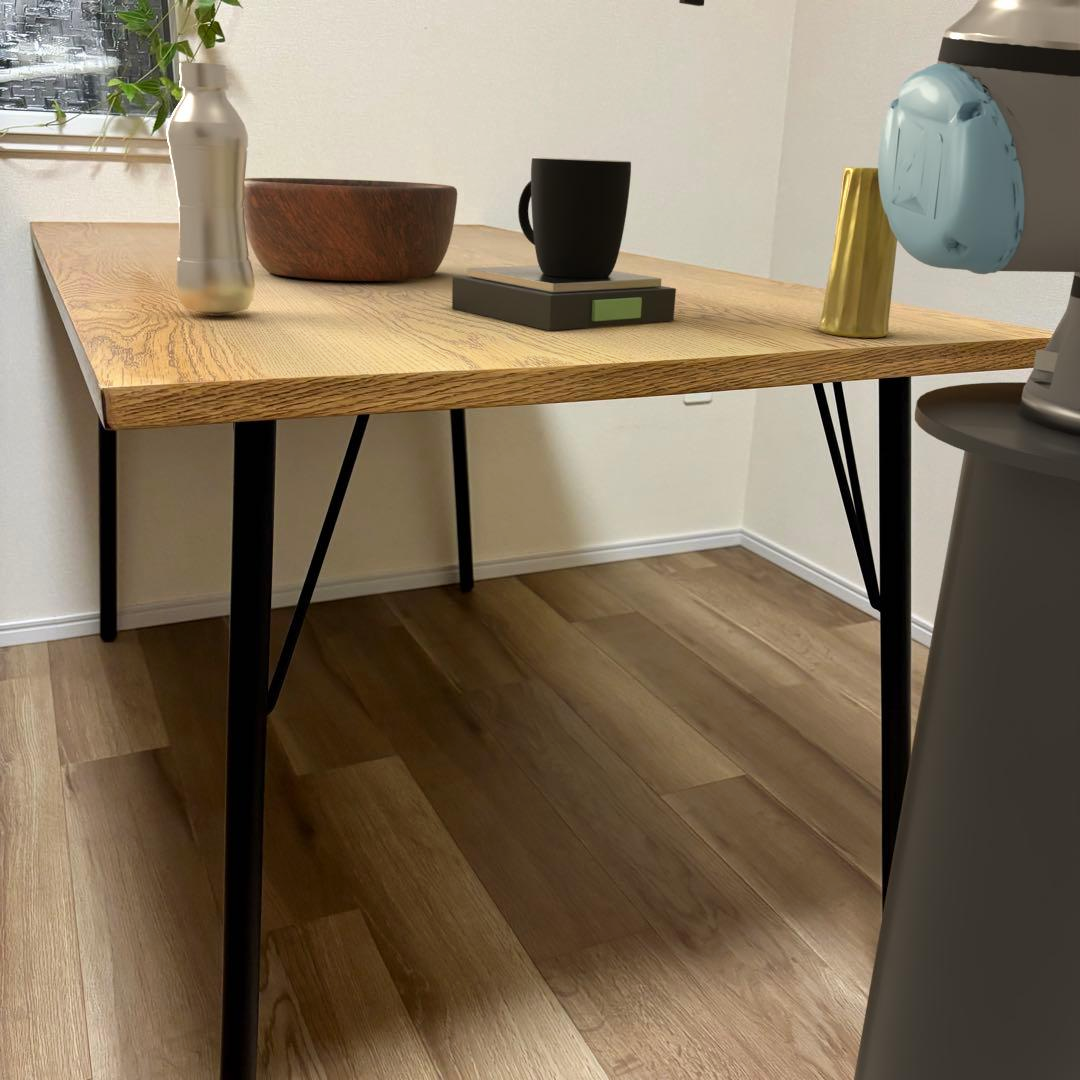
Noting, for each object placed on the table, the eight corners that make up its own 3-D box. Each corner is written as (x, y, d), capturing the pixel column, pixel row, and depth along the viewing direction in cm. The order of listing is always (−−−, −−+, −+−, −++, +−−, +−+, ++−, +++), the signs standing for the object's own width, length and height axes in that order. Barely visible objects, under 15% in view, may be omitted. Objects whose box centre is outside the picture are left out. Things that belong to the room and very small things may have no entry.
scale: (676, 321, 102) (679, 288, 101) (552, 331, 93) (554, 296, 92) (571, 300, 113) (572, 271, 112) (451, 308, 104) (452, 276, 103)
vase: (891, 340, 96) (916, 169, 91) (820, 335, 97) (841, 166, 92) (883, 330, 102) (906, 169, 97) (816, 326, 102) (836, 166, 98)
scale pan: (661, 287, 101) (661, 278, 101) (553, 293, 93) (553, 283, 93) (571, 272, 111) (572, 264, 110) (466, 276, 103) (466, 268, 103)
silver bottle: (214, 306, 99) (200, 67, 92) (272, 314, 96) (262, 68, 89) (160, 314, 93) (141, 60, 87) (220, 322, 90) (205, 61, 84)
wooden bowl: (425, 263, 144) (426, 181, 141) (483, 285, 122) (485, 190, 119) (231, 262, 136) (226, 175, 132) (255, 286, 114) (250, 183, 110)
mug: (644, 277, 101) (652, 161, 97) (578, 282, 95) (584, 159, 91) (551, 265, 109) (555, 157, 105) (485, 268, 103) (487, 155, 99)
